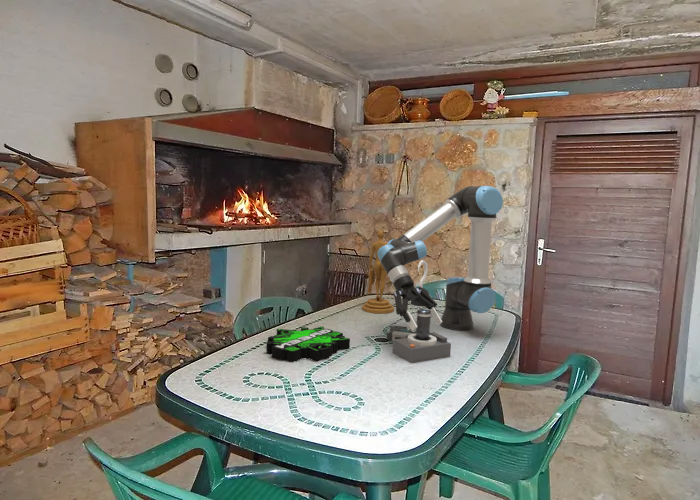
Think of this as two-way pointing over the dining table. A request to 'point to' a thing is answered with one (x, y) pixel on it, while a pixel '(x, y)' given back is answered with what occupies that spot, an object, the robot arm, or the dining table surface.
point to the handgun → (398, 333)
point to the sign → (306, 344)
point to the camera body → (422, 348)
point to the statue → (377, 282)
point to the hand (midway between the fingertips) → (427, 326)
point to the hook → (421, 283)
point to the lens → (423, 324)
